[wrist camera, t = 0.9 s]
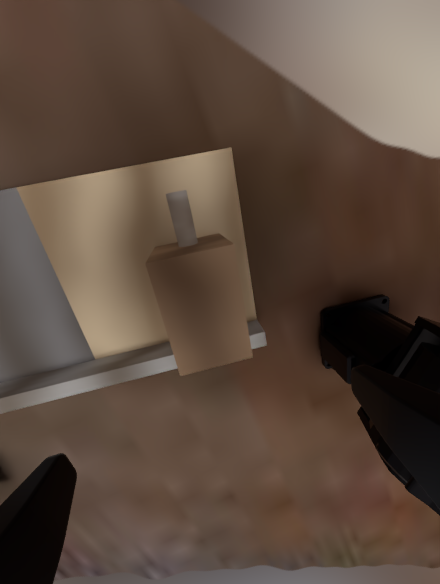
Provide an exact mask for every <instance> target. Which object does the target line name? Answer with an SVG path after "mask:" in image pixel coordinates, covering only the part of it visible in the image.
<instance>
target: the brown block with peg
mask: <svg viewBox="0 0 440 584" xmlns="http://www.w3.org/2000/svg"><path fill="white" fill-rule="evenodd" d="M166 198H167V202H168V206H169V210H170V214H171V218H172V222H173V226H174V230H175V234H176V238H177V242H176V243H171V244H166V245H162V246H157V247H155V248H154V250H153V251H152V253H151V255H150V256H149V258H148V260H147V261H146V263H145V265H146V268H147V271H148V274H149V278H150V281H151V284H152V287H153V290H154V294H155V297H156V300H157V303H158V306H159V310H160V313H161V316H162V319H163V323H164V326H165V329H166V332H167V335H168V339H169V342H170V345H171V348H172V351H173V355H174V358H175V361H176V364H177V367H178V371H179V374H180V376H183V375H187V374H191V373H195V372H198V371H202V370H206V369H210V368H214V367H218V366H222V365H225V364H229V363H233V362H237V361H241V360H245V359H249V358H252V357H253V355H252V349H251V343H250V337H249V331H248V325H247V319H246V313H245V307H244V301H243V295H242V289H241V282H240V276H239V270H238V264H237V258H236V252H235V246H234V244H233V243H232V242H231V241H229V240H228V239H226V238H225V237H224V236H222V235H221V234H220V233H218V234H213V235H208V236H204V237H199V238H197V236H196V231H195V227H194V222H193V218H192V213H191V209H190V204H189V200H188V195H187V190H183V191H177V192H172V193H168V194H166Z"/></svg>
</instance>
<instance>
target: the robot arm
mask: <svg viewBox="0 0 440 584" xmlns="http://www.w3.org/2000/svg"><path fill="white" fill-rule="evenodd" d="M382 300H383V301H382ZM388 311H389V297H387V296H385V295H379V296H375V297H371V298H367V299H363V300H359V301H355V302H351V303H347V304H343V305H339V306H335V307H331V308H327V309H324V310H323V311H322V312H321V333H320V346H321V356H322V363H323V365H324V367H325V368H327V369H330V368H333V369H334V370H335V371H336V372H337V373H338V374H339V375H340V376H341V377H342V378H343V379H344V381H345V382H346V383H348V384H351V387H352V391H353V394H354V395H355V397H356V398H357V400H358V401H359V403H360V404H361V406H362V407H360V409H359V410H358V412H357V413H358V415H359V417H360V419H361V421H362V423H363V425H364V427H365V428H366V430H367V432H368V434H369V436H370V438H371V440H372V442H373V444H374V446H375V447H376V449H377V451H378V453H379V455H380V457H381V459H382V460H383V462H384V464H385V465H386V466H387V468H388V470H389V471H390V472H391V473H392V474H393V475H394V476H395V477H396V478H397V479H398V480H399V481H400V482H401V483H403V484H404V485H405V488H406V489H407V490H408V492H410V493H411V494H413V495H414V496H415V497H417V498H418V499H420V500H421V501H422V502H424V503H425V504H427V505H428V506H429V507H430V508H432V509H433V510H434V511H435V512H436V513H437V514H439V515H440V323H438V322H435V321H432V320H429V319H426V318H423V317H420V316H418V318H417V319H416V321H415V322H414V323H416V324H415V325H414V326H413V325H411V324H409V323H407V322H406V321H404V320H402V319H400V318H398V317H396V316H394V315H392V314H390V313H388ZM327 313H328V315H327V316H326V314H327ZM328 363H329V364H328ZM76 479H77V473H76V470H75V468H74V467H73V465H72V464H71V462H70V461H69V459H68V458H67V456H66V455H65V454H63V453H60V454H57V455H53V456H50V457H48V458H46V459H45V460H44V461H43V462H42V463H41V464H40V465H39V466H38V467H37V468H36V469H35V470H34V471H33V472H32V473H31V474H30V475H29V476H28V478H27V479H26V480H25V481H24V482H23V483H22V484H21V485H20V486H19V487H18V488H17V489H16V490H15V491H14V492H13V493H12V494H11V495H10V496H9V497H8V498H7V499H6V500H5V501H4V502H3V503H2V504H1V505H0V584H53V581H54V578H55V574H56V570H57V567H58V563H59V560H60V556H61V552H62V548H63V544H64V540H65V535H66V530H67V525H68V520H69V515H70V510H71V505H72V500H73V495H74V490H75V485H76Z"/></svg>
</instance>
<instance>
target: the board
mask: <svg viewBox="0 0 440 584" xmlns="http://www.w3.org/2000/svg"><path fill="white" fill-rule="evenodd" d="M183 190H187V195H188V200H189V204H190V209H191V213H192V218H193V222H194V227H195V231H196V236H197V238H199V237H204V236H208V235H213V234H218V233H220V234H221V235H222V236H224V237H225V238H226V239H228V240H229V241H231V242H232V243H233V244H234V246H235V252H236V258H237V264H238V270H239V276H240V282H241V289H242V295H243V301H244V307H245V313H246V319H247V325H248V331H249V337H250V343H251V349H255V348H258V347H262V346H266V345H267V343H266V336H265V331H264V330H263V328H262V327H261V325H260V324H259V322H258V321H257V317H256V311H255V304H254V297H253V290H252V284H251V277H250V270H249V263H248V257H247V250H246V243H245V236H244V229H243V223H242V216H241V209H240V202H239V196H238V189H237V182H236V175H235V169H234V162H233V155H232V148H226V149H220V150H215V151H210V152H204V153H199V154H193V155H188V156H183V157H177V158H172V159H167V160H161V161H156V162H150V163H145V164H140V165H134V166H129V167H124V168H118V169H113V170H107V171H102V172H97V173H91V174H86V175H81V176H75V177H70V178H64V179H59V180H54V181H48V182H43V183H38V184H32V185H27V186H21V187H16V188H11V189H5V190H0V414H1V413H5V412H9V411H13V410H17V409H21V408H25V407H29V406H33V405H36V404H40V403H44V402H48V401H52V400H56V399H60V398H64V397H68V396H72V395H75V394H79V393H83V392H87V391H91V390H95V389H99V388H103V387H107V386H110V385H114V384H118V383H122V382H126V381H130V380H134V379H138V378H142V377H146V376H149V375H153V374H157V373H161V372H165V371H169V370H173V369H177V368H178V367H177V364H176V361H175V358H174V355H173V351H172V348H171V345H170V342H169V339H168V335H167V332H166V329H165V326H164V323H163V319H162V316H161V313H160V310H159V306H158V303H157V300H156V297H155V294H154V290H153V287H152V284H151V281H150V278H149V274H148V271H147V268H146V265H145V263H146V261H147V260H148V258H149V256H150V255H151V253H152V251H153V250H154V248H155V247H157V246H162V245H166V244H171V243H176V242H177V238H176V234H175V230H174V226H173V222H172V218H171V214H170V210H169V206H168V202H167V198H166V194H168V193H172V192H177V191H183Z"/></svg>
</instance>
